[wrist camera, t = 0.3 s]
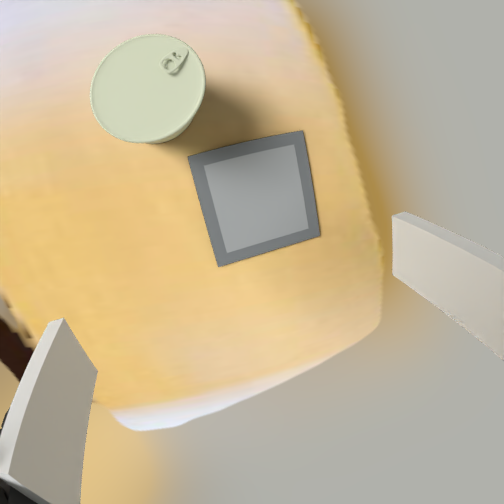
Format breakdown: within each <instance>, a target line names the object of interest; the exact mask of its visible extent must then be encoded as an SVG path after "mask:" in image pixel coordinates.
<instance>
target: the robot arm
mask: <svg viewBox="0 0 504 504" xmlns="http://www.w3.org/2000/svg"><path fill="white" fill-rule="evenodd" d="M392 233H393V234H392V236H393V273H392V274H393V276H395V277H396V278H398V279H399V280H401V281H402V282H403V283H405V284H406V285H407V286H409V287H410V288H411V289H413V290H414V291H416V292H417V293H418V294H420V295H421V296H423V297H424V298H425V299H426V300H428V301H429V302H431V303H432V304H433V305H435V306H436V307H437V308H439V309H440V310H441V311H442V312H444V313H445V314H446V315H448V316H449V317H450V318H451V319H453V320H454V321H455V322H457V323H458V324H459V325H460V326H462V327H463V328H464V329H465V330H467V331H468V332H469V333H471V334H472V335H473V336H474V337H476V338H477V339H478V340H479V341H480V342H482V343H483V344H484V345H485V346H487V347H488V348H489V349H490V350H491V351H493V352H494V353H495V354H496V355H497V356H498V357H500V358H501V359H502V360H503V361H504V257H503V256H501V255H499V254H497V253H495V252H493V251H491V250H489V249H487V248H485V247H483V246H481V245H479V244H477V243H475V242H473V241H471V240H469V239H467V238H465V237H463V236H461V235H459V234H456V233H454V232H452V231H450V230H448V229H445V228H443V227H441V226H439V225H436V224H434V223H432V222H430V221H427V220H425V219H423V218H420V217H418V216H415V215H413V214H411V213H408V212H406V211H405V212H402V213H399V214H396V215H393V216H392ZM97 373H98V371H97V369H96V368H95V366H94V365H93V363H92V362H91V360H90V359H89V358H88V356H87V355H86V353H85V351H84V350H83V348H82V347H81V345H80V344H79V342H78V340H77V339H76V337H75V336H74V334H73V332H72V331H71V329H70V327H69V326H68V324H67V322H66V320H65V319H64V318H61V319H58V320H55V321H51V322H49V323H48V325H47V327H46V329H45V331H44V333H43V335H42V337H41V339H40V341H39V343H38V345H37V347H36V349H35V351H34V353H33V355H32V357H31V359H30V361H29V364H28V366H27V368H26V370H25V372H24V375H23V377H22V379H21V382H20V384H19V386H18V389H17V392H16V394H15V396H14V399H13V401H12V404H11V407H10V408H9V410H8V411H7V413H6V414H5V417H4V420H3V423H2V429H0V504H80V495H81V481H82V480H81V479H82V468H83V458H84V449H85V442H86V434H87V427H88V420H89V414H90V409H91V403H92V397H93V392H94V387H95V382H96V377H97Z"/></svg>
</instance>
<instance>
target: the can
mask: <svg viewBox="0 0 504 504" xmlns="http://www.w3.org/2000/svg"><path fill="white" fill-rule="evenodd" d="M205 87H206V77H205V71H204V68H203V65H202V62H201V60H200V59H199V57H198V55H197V54H196V53H195V51H194V50H193V49H192V48H191V47H190V46H188V45H187V44H186V43H184V42H183V41H181V40H179V39H177V38H174V37H171V36H167V35H162V34H148V35H142V36H137V37H134V38H131V39H129V40H127V41H125V42H123V43H121V44H120V45H118V46H117V47H115V48H114V49H113V50H111V51H110V52H109V53H108V54H107V55H106V56H105V58H104V59H103V60H102V61H101V63H100V64H99V66H98V68H97V69H96V71H95V74H94V76H93V79H92V83H91V88H90V103H91V108H92V111H93V114H94V116H95V118H96V120H97V121H98V123H99V124H100V125H101V126H102V128H103V129H104V130H105V131H107V132H108V133H109V134H111V135H112V136H114V137H116V138H118V139H120V140H123V141H126V142H132V143H149V144H157V143H163V142H166V141H169V140H171V139H174V138H175V137H177V136H178V135H180V134H181V133H182V132H183V131H184V130H185V129H186V128H187V127H188V126H189V124H190V123H191V121H192V119H193V117H194V115H195V114H196V112H197V111H198V109H199V107H200V105H201V103H202V100H203V97H204V93H205Z"/></svg>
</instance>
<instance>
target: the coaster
mask: <svg viewBox="0 0 504 504" xmlns="http://www.w3.org/2000/svg"><path fill="white" fill-rule="evenodd" d="M188 160H189V164H190V168H191V172H192V176H193V179H194V183H195V187H196V190H197V194H198V198H199V201H200V205H201V209H202V212H203V216H204V219H205V223H206V227H207V230H208V234H209V237H210V241H211V244H212V247H213V251H214V254H215V258H216V261H217V264H218V267H220V266H223V265H227V264H230V263H233V262H236V261H240V260H243V259H246V258H249V257H253V256H256V255H259V254H262V253H266V252H269V251H272V250H275V249H279V248H282V247H285V246H288V245H292V244H295V243H298V242H301V241H304V240H308V239H311V238H314V237H317V236H320V232H319V225H318V218H317V211H316V204H315V198H314V191H313V185H312V179H311V173H310V167H309V162H308V156H307V151H306V145H305V140H304V135H303V131H296V132H291V133H285V134H280V135H275V136H270V137H265V138H260V139H256V140H251V141H247V142H242V143H238V144H234V145H230V146H226V147H222V148H218V149H214V150H210V151H206V152H202V153H199V154H195V155H192V156H188Z"/></svg>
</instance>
